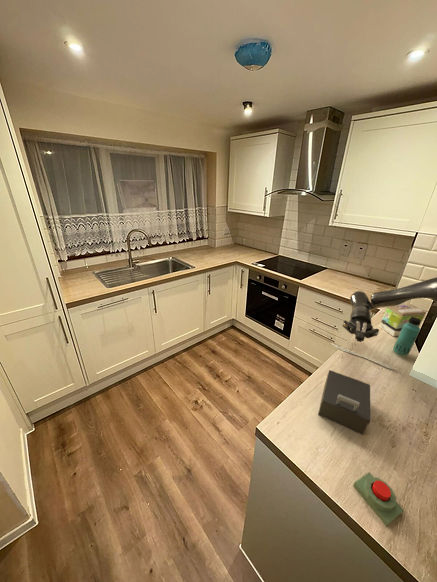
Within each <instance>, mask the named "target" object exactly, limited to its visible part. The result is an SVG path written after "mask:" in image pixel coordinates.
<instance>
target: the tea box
mask: <svg viewBox="0 0 437 582" xmlns="http://www.w3.org/2000/svg"><path fill="white" fill-rule="evenodd" d="M426 314H427V311H425V310H423V309H421V308H420V307H418V306H415V305H413V304H412V303H402V304H399V305H396V306H390V307H386V309H385V311H384V314H383V316H382V319H381V321H380V323H379V326H378V327H379V328H380V329H382V330H383V331H385V332H386V333H387V334H388V335H390V336H392V337H399V335H400V332H401V330H402V328H403V325H404V324H406V323H409V319H410V318H411V317H415V318H418V319H420V320H421V322H420V325H417V326H418V327H419V328H420V326H421V324H422V322H423V320H424V318H425V316H426Z"/></svg>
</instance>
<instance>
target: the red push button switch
mask: <svg viewBox="0 0 437 582" xmlns="http://www.w3.org/2000/svg"><path fill="white" fill-rule="evenodd" d="M375 481H382V482H383V483H385V484H386V485H387V486H388V487H389V489H390V491H391V496H390V498H389V499H388V500H387V501H382V500H380V499H378V498H377V497H376V496H375V494H374V493H373V490H372V486H373V484H374V482H375ZM352 486H353V488H354V489H355V490H356V491H357V493H358V494H359V495H360V497H361V498H362V499H363V500H364V501H365V502H366V504H367V505H368V506H369V507H370V508H371V510H372V511H373V513H375V514H376V516H377V517H378V518H379V519H380V520H381V522H382V523H383V525H385V527H388V526H389V525H390V524H391V523H393V521H395V520H396V519H397V518H398V517H400V516H401V515H402V513H403V512H404V511H405V510H404V509H403V507H402V506H401V505H400V504H399V503H398V502H397V496H396V494H395V493H394V491H393V488H391V486H390V485H389V484H388V483H387V482H386V481H384V480H382V479H381V478H379V477H377V476H376V477H375V476H374V475H373V474H372V473H371V472H370V471H369V472H367V473H366V474H364V475H363V476H361V477H360V478H359V479H357V480H356V481H355V482H354V483H353V485H352Z"/></svg>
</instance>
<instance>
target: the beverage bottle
mask: <svg viewBox="0 0 437 582" xmlns="http://www.w3.org/2000/svg"><path fill="white" fill-rule="evenodd" d="M420 322H421V320H420V319H418V318H415V317H411V318H410V319H409V323H406V324H404V325H403V328H402V330H401V332H400V335H399V336H397V339H396V341H395V342H394V344H393V347H392V350H393V352H395V353H396V354H397V355H400V356H404V357H405V356H407V357H408V355H409V354H410V352H411V351H412V348H413V347H414V344H415V342H416V340H417V339H418V336H419V333H420V332H421V327H420V326H421V324H420ZM421 323H422V322H421ZM417 325H420V326H419V327H418V326H417Z"/></svg>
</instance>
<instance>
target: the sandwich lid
mask: <svg viewBox="0 0 437 582" xmlns="http://www.w3.org/2000/svg"><path fill="white" fill-rule="evenodd" d="M327 376H328V377H326V379H327V382H326V381H325V382H326V387H325V391H324V396H323V401H322V404H324V405H326V406H328V407H331V408H333V409H335V410H338V411H340V412H342V413H345V414H347V415H349V416H351V417H354V418H356V419H358V420H361V421H363V422H365V423H368V425H370V423H371V384H369V383H366V382H363V381H361V380H358V379H356V378H353V377H351V376H347V375H344V374H341V373H339V372H336V371H334V370H331V369H329V370H328V373H327Z"/></svg>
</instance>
